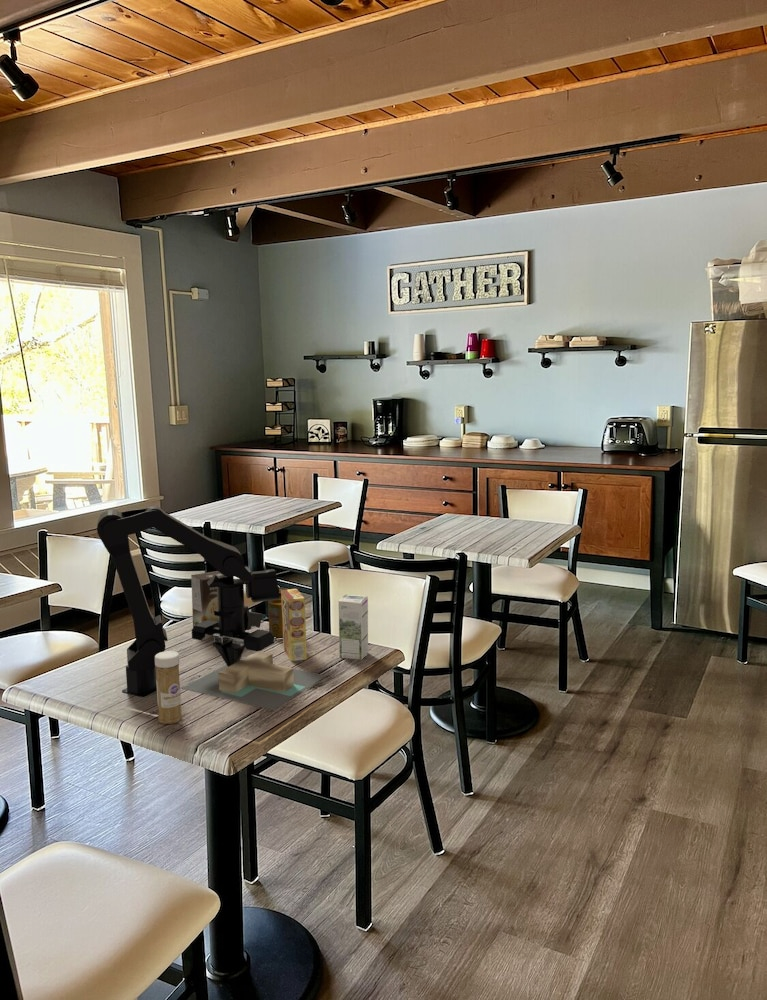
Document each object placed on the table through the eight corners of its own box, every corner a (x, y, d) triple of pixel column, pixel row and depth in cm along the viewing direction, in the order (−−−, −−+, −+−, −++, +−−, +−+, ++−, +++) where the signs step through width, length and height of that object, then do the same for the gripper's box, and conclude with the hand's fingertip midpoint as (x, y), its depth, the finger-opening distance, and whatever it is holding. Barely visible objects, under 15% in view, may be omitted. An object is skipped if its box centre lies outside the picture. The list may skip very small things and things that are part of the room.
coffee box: (203, 641, 196) (200, 580, 193) (192, 635, 201) (189, 574, 198) (236, 634, 202) (233, 574, 199) (224, 627, 206) (222, 569, 204)
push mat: (273, 712, 155) (273, 710, 155) (181, 689, 166) (181, 688, 166) (326, 677, 173) (326, 675, 173) (240, 659, 184) (240, 657, 184)
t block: (269, 701, 159) (268, 682, 159) (219, 690, 165) (218, 672, 164) (306, 677, 172) (306, 660, 171) (258, 667, 177) (258, 651, 177)
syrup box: (369, 653, 187) (368, 595, 185) (361, 661, 182) (361, 602, 179) (346, 650, 189) (345, 593, 186) (338, 659, 183) (337, 600, 181)
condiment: (299, 635, 201) (298, 590, 199) (272, 643, 195) (271, 596, 193) (282, 628, 206) (281, 584, 204) (256, 636, 200) (254, 591, 198)
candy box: (307, 660, 183) (306, 597, 180) (289, 663, 181) (288, 599, 179) (299, 648, 191) (297, 587, 188) (282, 650, 190) (280, 589, 187)
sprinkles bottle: (170, 726, 149) (167, 660, 147) (153, 721, 151) (149, 656, 149) (187, 717, 153) (183, 652, 151) (170, 712, 155) (166, 648, 153)
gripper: (287, 600, 172) (289, 666, 175) (220, 589, 181) (223, 653, 183) (257, 614, 163) (259, 684, 165) (188, 602, 171) (191, 669, 174)
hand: (233, 672), depth 172 cm, fingers closed
